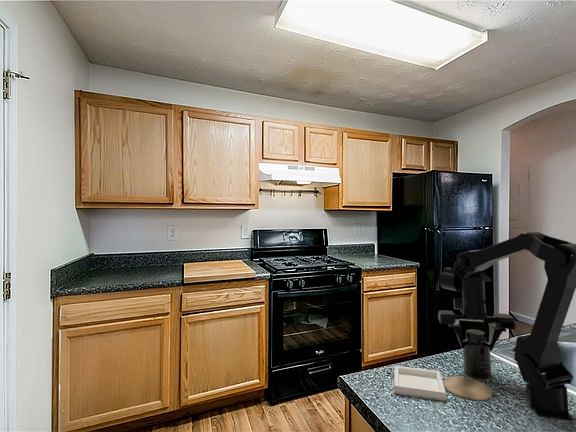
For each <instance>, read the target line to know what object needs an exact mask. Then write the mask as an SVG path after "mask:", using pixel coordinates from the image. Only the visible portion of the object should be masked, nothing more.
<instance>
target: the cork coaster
mask: <svg viewBox="0 0 576 432" xmlns="http://www.w3.org/2000/svg"><path fill="white" fill-rule="evenodd" d="M443 385H444V388H445V390H447V392H449V393H450V394H452V395H454V396H457V397H459V398H462V399H466V400H468V401H469V400H470V401H487V400H489V399H491V398H492V396H493V389H492V388H491V387H490V386H489V385H488V384H486V383H485V382H482V381H480V380H477V379H476V378H473V377H472V378H471V377H467V376H456V375H455V376H448V377H446V378H445V379H444V380H443Z"/></svg>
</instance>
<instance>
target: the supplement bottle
mask: <svg viewBox="0 0 576 432" xmlns="http://www.w3.org/2000/svg"><path fill="white" fill-rule="evenodd" d="M465 337H466V338H465V339H463V343H464V348H462V357H463V359H462V360H463V371H464V373H465V374H467V376H470V377H472V378H474V379H480V380H487V379H489V378H490V379H491V377H492V357H491V354H492V353H491V351H490V346H489V342H487V341H486V340H487V337H486V333H485V332H484V331H482V330H479V329H472V328H471V329H466V331H465Z"/></svg>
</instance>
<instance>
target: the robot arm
mask: <svg viewBox="0 0 576 432" xmlns="http://www.w3.org/2000/svg"><path fill="white" fill-rule="evenodd" d="M526 252H529V253H531V254H532V255H533V256H534V257H535V258H537V259H538V260H539V259H540V260H541V261H543V262H544V265H543V268H544V271H545V272H544V273H545V275H546V278H547V282H546V284H545V288H544V291H543V294H542V298H541V301H540V304H539V306H538V310H537V312H536V316H535V318H534V323H533V326H532V327H531V328H532V329H531V332H530V333H529V334H526V335H520V336H517V338H516V341H515V346H514V348H512V352H514V356H513V357H514V361H515V362H516V364H517V367H518V369H519V373H520V375H521V378H522V380H523V382H526V384H525V394H526V395H525V396H526V398H525V399H526V402H527V403H528V405H529V406H530V407H531V408H532V410H533V411H534V412H535V414H536V415H539V416H545V417H550V418H559V419H563V420H570V421H571V420H574V418H573V416H572V414H571V413H569V401H568V399H569V398H568V397H569V396H568V387H567V386H566V385H571V384H572V382H573V380H574V375H573V374H572V373H571V372H570V371H569V370H568V369H567V367H566V366H565V365H564V363H562V362H561V355H562V354H561V353H562V352H561V350H560V347H559V344H558V341H559V337H560V335H561V332H562V329H563V326H564V323H565V321H566V320H565V319H566V317H567V314H568V312H569V309H570V306H571V302H572V300H573V297H574V294H575V291H576V243H573V242H570V241H567V240H563V239H560V238H557V237H553V236H549V235H546V234H544V233H542V232H539V231H525V232H522V233H519V235H516V236H514V237H511V238H509V239H507V240H503V241H501V242H497V243H495V244H492V245H490V246H488V247H484V248H483V249H477V250H476V249H475V250H470V251H469V250H467V251H462V252H459V253H458V254H457V255H456V260H455V261H454V263H453V264H452V266H451V267H443V271H442V272H441V273H440V275H439V278H438V283H439V285H440V287H441V288H442V289H445V290H450V291H454V292H461V295H462V296H461V298H457V297H453V309H454V310H460V313H461V314H455V313H454V311H453V310H444V309H442V310H441V309H440V310H438V312H437V317H438V321H439V323H440V324H441V325H448V327H449V328H452V329H454V332H455V334H456V337H457V339H458V342H459V344H460V347H461V349H463V348H464V343H463V341H464V338H463V331H462V326H461V324H460V322H465V323H466V322H467V323H481V324H488V330H489V335H488V344H489V346H490V352H492V351H493V350H494V347H495V346H496V344H497V342H498V339H499V338H500V336H501V335H502V334H503V332H504V333H506V332H507V330H517V322H516V319H514V317H512V316H511V315H509V314H508V313H495V312H493V315H492V316H488V315H487V309H486V308H487V307H486V306H487V301H486V293H485V287H486V286H485V282H491V281H492V278H491V277H490V276H489V275H488V274H486V272H484V271H485V270H487V269H488V268H490V267H492V266H493V265H494V264H495V263H496V262H499V261H502V260H504V259H508V258H510V257H511V258H512V257H514V256H517V255H521V254H522V253H526Z"/></svg>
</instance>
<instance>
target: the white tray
mask: <svg viewBox="0 0 576 432" xmlns="http://www.w3.org/2000/svg"><path fill="white" fill-rule="evenodd" d="M393 380H394V381H393V386H394V387H393V389H394V390H393V391H394V393H393V394H396V395H400V396H401V395H402V396H408V397H409V396H410V397H416V398H423V399H428V400H435V401H443V402H447V392H446V388H445V387H444V380H443V378H442V375H441V371H440V370H435V369H433V370H432V369H427V368H426V369H424V368H416V367H407V366H401V365H400V366H399V365H394V378H393Z"/></svg>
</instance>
